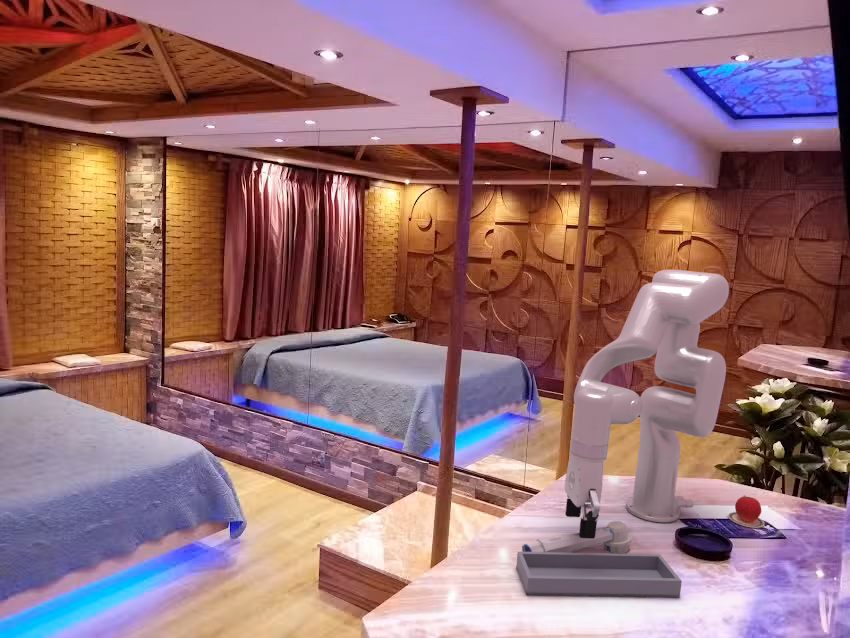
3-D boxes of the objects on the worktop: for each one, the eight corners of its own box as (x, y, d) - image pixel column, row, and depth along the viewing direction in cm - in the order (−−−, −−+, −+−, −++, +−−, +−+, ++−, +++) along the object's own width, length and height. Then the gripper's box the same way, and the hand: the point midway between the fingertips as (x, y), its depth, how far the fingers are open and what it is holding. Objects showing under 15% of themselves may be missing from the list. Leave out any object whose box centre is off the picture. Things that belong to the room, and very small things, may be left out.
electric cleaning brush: (520, 538, 134) (621, 511, 141) (521, 567, 135) (621, 539, 143) (532, 551, 129) (636, 522, 136) (533, 580, 130) (636, 551, 138)
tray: (658, 570, 131) (660, 554, 131) (679, 597, 122) (681, 580, 121) (516, 567, 129) (517, 551, 129) (526, 595, 120) (528, 578, 119)
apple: (720, 517, 158) (724, 492, 157) (742, 512, 162) (745, 487, 161) (749, 531, 151) (753, 505, 150) (771, 526, 155) (775, 500, 154)
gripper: (559, 434, 141) (551, 508, 143) (583, 462, 124) (574, 546, 126) (592, 436, 141) (584, 509, 144) (621, 464, 124) (611, 547, 127)
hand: (579, 526), depth 135 cm, fingers open, 9 cm apart
